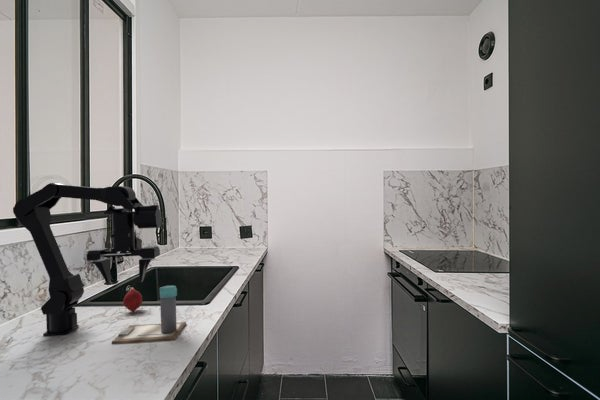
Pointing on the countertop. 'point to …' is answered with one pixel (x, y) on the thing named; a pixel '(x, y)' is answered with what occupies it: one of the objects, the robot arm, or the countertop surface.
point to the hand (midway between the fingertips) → (125, 282)
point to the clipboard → (146, 333)
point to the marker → (168, 309)
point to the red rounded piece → (132, 300)
